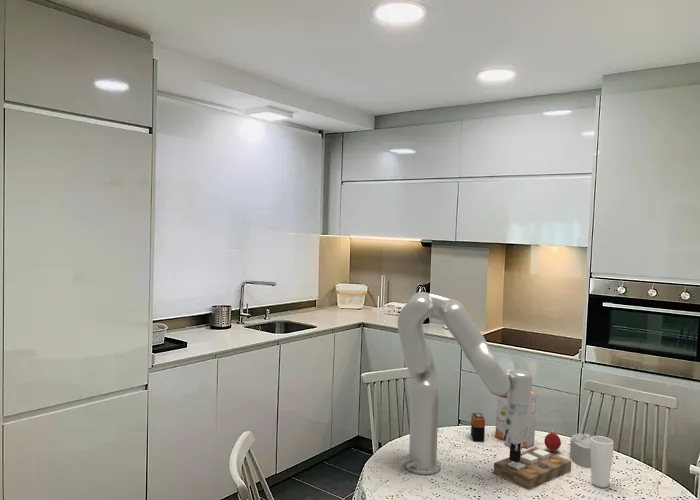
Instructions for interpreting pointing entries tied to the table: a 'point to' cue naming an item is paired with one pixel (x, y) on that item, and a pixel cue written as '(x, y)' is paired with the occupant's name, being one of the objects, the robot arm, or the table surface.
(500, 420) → the cracker box
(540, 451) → the button right
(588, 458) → the lumpy-topped squat cylinder
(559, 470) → the button board
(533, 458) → the button middle
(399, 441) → the table surface
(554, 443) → the onion
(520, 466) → the button left
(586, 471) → the table surface
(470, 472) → the table surface
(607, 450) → the drinking glass
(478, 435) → the battery
